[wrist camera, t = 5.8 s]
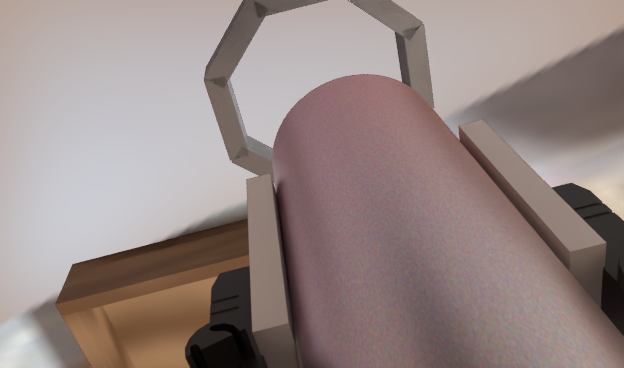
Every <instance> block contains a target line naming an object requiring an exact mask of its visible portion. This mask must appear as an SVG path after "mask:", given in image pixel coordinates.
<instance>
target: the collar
mask: <svg viewBox="0 0 624 368" xmlns="http://www.w3.org/2000/svg"><path fill="white" fill-rule="evenodd" d="M322 1H326V0H243V1H242V3H241V5H240V7H239V9H238V10H237V12H236V14H235V16H234V17H233V19H232V21H231V23H230V25H229V27H228V29H227V30H226V32H225V34H224V36H223V37H222V39H221V41H220V43H219V45H218V46H217V49H216V50H215V52H214V54H213V56H212V57H211V59H210V61H209V63H208V65H207V66H206V71H205V77H204V83H205V85H206V88H207V92H208V95H209V98H210V100H211V104H212V107H213V110H214V113H215V116H216V119H217V122H218V125H219V128H220V131H221V134H222V137H223V140H224V143H225V146H226V149H227V152H228V155H229V158H230V160H232V163H234V164H236V165H238V166H240V167H242V168H244V169H247V170H249V171H250V172H252V173H255V174H257V175H259V176H262V175H266V174H271V177H272V180H273V183H275V181H274V174H273V164H272V155H273V148H271V147H269V146H267V145H265V144H263V143H261V142H259V141H257V140H255V139H253V138H251V137H249V136H247V134H246V130H245V127H244V124H243V120H242V117H241V114H240V111H239V107H238V104H237V101H236V98H235V94H234V91H233V88H232V84H231V81H230V77H231V75H232V73H233V72H234V70H235V68H236V66H237V65H238V63H239V61H240V59H241V58H242V56H243V54H244V52H245V51H246V49H247V47H248V45H249V44H250V42H251V40H252V38H253V37H254V35H255V33H256V31H257V30H258V28H259V26H260V24H261V22H262V21H263V19H264V17H265V16H268V15H272V14H276V13H279V12H283V11H287V10H291V9H295V8H299V7H303V6H307V5H310V4H315V3H318V2H322ZM348 1H350V2H351V3H353V4H354V5H356V6H357V7H359V8H360V9H362V10H364V11H365V12H367V13H368V14H370V15H371V16H373V17H374V18H376V19H377V20H379V21H380V22H382V23H383V24H385V25H386V26H388V27H389V28H391V29H393V30H394V31H395V35H396V42H397V49H398V56H399V63H400V69H401V75H402V83H404V84H406V85H408V86H409V87H411V88H412V89H414V90H415V91H416V92H418V93H419V94H420V95H421V96H422V97H423V98H424V99H425V100H426V101H427V103H428V104H429V105H430V106H431V107H432V108H434V102H433V93H432V85H431V77H430V70H429V61H428V53H427V45H426V36H425V28H424V24H422V22H421V21H420V20H419V19H417V18H416V17H414V16H413V15H412V14H410V13H409V12H407V11H406V10H404V9H403V8H401V7H400V6H398V5H397V4H395V3H394V2H393V1H391V0H348Z"/></svg>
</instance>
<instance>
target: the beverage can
mask: <svg viewBox="0 0 624 368" xmlns="http://www.w3.org/2000/svg"><path fill="white" fill-rule="evenodd" d="M272 164H273V174H274V181H275V189H276V195H277V202H278V210H279V218H280V226H281V233H282V241H283V249H284V257H285V264H286V272H287V280H288V287H289V295H290V303H291V311H292V318H293V326H294V334H295V342H296V353H297V362H298V368H624V336H623V335H622V334H621V332H620V331H619V330H618V329H617V328H616V326H615V325H614V324H613V323H612V322H611V320H610V319H609V318H608V317H607V316H606V314H605V313H604V312H603V311H602V310H601V309H600V307H599V306H598V305H597V304H596V303H595V301H594V300H593V299H592V298H591V297H590V295H589V294H588V293H587V292H586V291H585V289H584V288H583V287H582V286H581V285H580V284H579V282H578V281H577V280H576V279H575V278H574V276H573V275H572V274H571V273H570V272H569V270H568V269H567V268H566V267H565V266H564V264H563V263H562V262H561V261H560V260H559V259H558V257H557V256H556V255H555V254H554V253H553V251H552V250H551V249H550V248H549V247H548V245H547V244H546V243H545V242H544V241H543V239H542V238H541V237H540V236H539V235H538V234H537V232H536V231H535V230H534V229H533V228H532V226H531V225H530V224H529V223H528V222H527V220H526V219H525V218H524V217H523V216H522V214H521V213H520V212H519V211H518V210H517V209H516V207H515V206H514V205H513V204H512V203H511V201H510V200H509V199H508V198H507V197H506V195H505V194H504V193H503V192H502V191H501V189H500V188H499V187H498V186H497V185H496V184H495V182H494V181H493V180H492V179H491V178H490V176H489V175H488V174H487V173H486V172H485V170H484V169H483V168H482V167H481V166H480V164H479V163H478V162H477V161H476V160H475V159H474V157H473V156H472V155H471V154H470V153H469V151H468V150H467V149H466V148H465V147H464V145H463V144H462V143H461V142H460V141H459V139H458V138H457V137H456V136H455V135H454V134H453V132H452V131H451V130H450V129H449V128H448V126H447V125H446V124H445V123H444V122H443V120H442V119H441V118H440V117H439V116H438V115H437V113H436V112H435V111H434V110H433V109H432V107H431V106H430V105H429V104H428V103H427V101H426V100H425V99H424V98H423V97H422V96H421V95H420V94H419V93H418V92H416V91H415V90H414V89H412V88H411V87H409V86H408V85H406V84H404V83H402V82H400V81H397V80H395V79H392V78H389V77H384V76H379V75H370V74H369V75H368V74H366V75H365V74H362V75H361V74H360V75H352V76H345V77H341V78H338V79H335V80H332V81H329V82H327V83H325V84H323V85H321V86H319V87H317V88H315V89H314V90H312V91H311V92H309V93H308V94H307V95H306V96H304V97H303V98H302V99H301V100H299V101H298V102H297V103H296V104H295V106H294V107H293V108H292V109H291V110H290V111H289V113H288V114H287V116H286V117H285V119H284V120H283V122H282V124H281V126H280V128H279V131H278V132H277V136H276V139H275V142H274V147H273V155H272Z"/></svg>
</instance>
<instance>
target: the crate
mask: <svg viewBox="0 0 624 368" xmlns="http://www.w3.org/2000/svg"><path fill="white" fill-rule="evenodd" d="M246 266H250V261H249V235H248V219H247V220H243V221H239V222H235V223H231V224H227V225H223V226H219V227H216V228H212V229H208V230H204V231H200V232H196V233H192V234H188V235H184V236H181V237H177V238H173V239H169V240H165V241H161V242H157V243H153V244H150V245H146V246H142V247H138V248H134V249H131V250H127V251H122V252H118V253H115V254H111V255H107V256H103V257H99V258H95V259H91V260H87V261H84V262H80V263H76V264H73V265H72V267H71V269H70V272H69V274H68V276H67V279H66V281H65V283H64V286H63V288H62V290H61V293H60V295H59V297H58V300H57V302H56V304H55V305H56V307H57V308H58V310H59V312H60V314H61V315H62V317H63V319H64V320H65V322H66V324H67V326H68V327H69V329H70V331H71V332H72V334H73V336H74V338H75V339H76V341H77V343H78V344H79V346H80V348H81V350H82V351H83V353H84V355H85V356H86V358H87V360H88V362H89V363H90V365H91V367H92V368H190V367H189V365H188V362H187V360H186V358H185V347H186V344H187V342H188V340H189V338H190V337H191V336H192V335H193V334H194V333H195V332H196V331H197V330H198V329H200V328H201V327H203V326H205V325H206V324H208V323H209V322H210V305H211V288H212V286H213V284H214V282H215V281H216V279H217V277H218V275H219V274H220V273H223V272H227V271H231V270H234V269H238V268H242V267H246Z"/></svg>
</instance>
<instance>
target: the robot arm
mask: <svg viewBox="0 0 624 368" xmlns="http://www.w3.org/2000/svg"><path fill="white" fill-rule="evenodd" d="M459 136H460V142H461V143H462V144H463V145H464V147H465V148H466V149H467V150H468V151H469V153H470V154H471V155H472V156H473V157H474V159H475V160H476V161H477V162H478V163H479V164H480V166H481V167H482V168H483V169H484V170H485V172H486V173H487V174H488V175H489V176H490V178H491V179H492V180H493V181H494V182H495V184H496V185H497V186H498V187H499V188H500V189H501V191H502V192H503V193H504V194H505V195H506V197H507V198H508V199H509V200H510V201H511V203H512V204H513V205H514V206H515V207H516V209H517V210H518V211H519V212H520V213H521V214H522V216H523V217H524V218H525V219H526V220H527V222H528V223H529V224H530V225H531V226H532V228H533V229H534V230H535V231H536V232H537V234H538V235H539V236H540V237H541V238H542V239H543V241H544V242H545V243H546V244H547V245H548V247H549V248H550V249H551V250H552V251H553V253H554V254H555V255H556V256H557V257H558V259H559V260H560V261H561V262H562V263H563V264H564V266H565V267H566V268H567V269H568V270H569V272H570V273H571V274H572V275H573V276H574V278H575V279H576V280H577V281H578V282H579V284H580V285H581V286H582V287H583V288H584V289H585V291H586V292H587V293H588V294H589V295H590V297H591V298H592V299H593V300H594V301H595V303H596V304H597V305H598V306H599V307H600V309H601V310H602V311H603V312H604V313H605V314H606V316H607V317H608V318H609V319H610V320H611V322H612V323H613V324H614V325H615V326H616V328H617V329H618V330H619V331H620V332H621V334H622V335H623V336H624V221H623V220H622V219H621V218H620V217H619V216H618V215H616V214H615V213H612V210H611V209H610V208H609V207H607V206H606V205H605V204H602V201H601V200H600V199H599V198H597V197H596V196H595V195H594V194H593V193H592V192H591V191H590V190H587V189H585V188H582V187H580V186H578V185H575V184H573V183H569V184H565V185H561V186H557V187H553V188H551V187H550V186H549V185H548V184H547V183H546V182H545V181H544V180H543V179H542V178H541V177H540V176H539V175H538V174H537V173H536V172H535V171H534V170H533V169H532V168H531V167H530V166H529V165H528V164H527V163H526V162H525V161H524V160H523V159H522V158H521V157H520V156H519V155H518V154H517V153H516V152H515V151H514V150H513V149H512V148H511V147H510V146H509V145H508V144H507V143H506V142H505V141H504V140H503V139H502V138H501V137H500V136H499V135H498V134H497V133H496V132H495V131H494V130H493V129H492V128H491V127H490V126H489V125H488V124H487V123H486V122H485V121H484V120H483V119H482V120H478V121H474V122H471V123H467V124H463V125H459ZM246 183H247V209H248V235H249V261H250V266H246V267H242V268H238V269H234V270H231V271H227V272H223V273H220V274H219V275H218V277H217V279H216V281H215V282H214V284H213V286H212V288H211V305H210V322H209V323H208V324H206V325H205V326H203V327H201V328H200V329H198V330H197V331H196V332H195V333H194V334H193V335H192V336H191V337H190V338H189V340H188V342H187V344H186V347H185V358H186V360H187V362H188V365H189V367H190V368H298V362H297V353H296V342H295V334H294V326H293V318H292V311H291V303H290V295H289V287H288V280H287V272H286V264H285V257H284V249H283V241H282V233H281V226H280V218H279V210H278V202H277V195H276V191H275V187H274V184H273V180H272V177H271V174H266V175H262V176H258V177H254V178H250V179H247V180H246Z"/></svg>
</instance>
